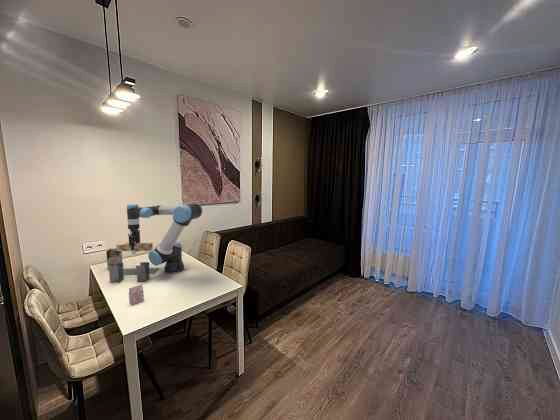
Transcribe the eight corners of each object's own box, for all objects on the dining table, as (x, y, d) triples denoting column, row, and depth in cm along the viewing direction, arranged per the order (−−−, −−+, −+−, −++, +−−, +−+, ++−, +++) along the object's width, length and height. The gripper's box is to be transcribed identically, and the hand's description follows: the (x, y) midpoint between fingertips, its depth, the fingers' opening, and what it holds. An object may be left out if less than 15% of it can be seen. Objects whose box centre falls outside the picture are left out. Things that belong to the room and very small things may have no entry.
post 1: (124, 278, 168) (123, 262, 166) (118, 283, 160) (117, 266, 159) (115, 278, 167) (114, 262, 165) (109, 283, 160) (108, 266, 158)
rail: (152, 248, 182) (152, 242, 181) (150, 250, 177) (149, 244, 176) (120, 249, 178) (119, 243, 178) (116, 251, 174) (116, 244, 173)
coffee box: (107, 270, 181) (105, 251, 179) (110, 267, 187) (108, 248, 185) (120, 269, 184) (119, 250, 181) (123, 266, 190) (121, 247, 187)
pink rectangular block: (129, 302, 136) (128, 287, 135) (141, 298, 142) (140, 283, 140) (131, 305, 134) (130, 289, 133) (144, 300, 139) (143, 285, 138)
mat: (159, 268, 188) (159, 267, 187) (153, 273, 177) (153, 273, 177) (120, 269, 183) (120, 268, 183) (112, 275, 173) (112, 274, 173)
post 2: (150, 277, 170) (149, 262, 168) (145, 282, 163) (144, 265, 161) (141, 278, 169) (140, 262, 167) (136, 282, 162) (135, 266, 160)
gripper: (134, 221, 183) (135, 249, 186) (121, 226, 165) (124, 256, 169) (144, 221, 184) (145, 249, 187) (132, 226, 166) (134, 256, 170)
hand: (135, 252), depth 178 cm, fingers closed on rail, 5 cm apart
